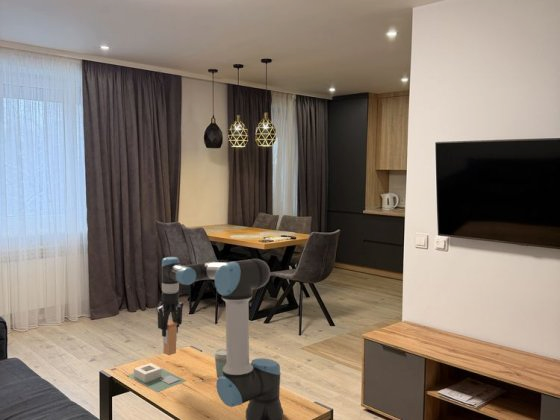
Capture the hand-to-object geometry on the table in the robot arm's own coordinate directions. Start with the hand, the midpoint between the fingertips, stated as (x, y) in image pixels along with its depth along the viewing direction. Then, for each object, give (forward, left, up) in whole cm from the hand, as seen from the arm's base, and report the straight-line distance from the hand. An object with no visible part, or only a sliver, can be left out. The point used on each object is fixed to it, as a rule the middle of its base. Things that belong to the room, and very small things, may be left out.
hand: (169, 341), depth 223 cm
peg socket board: (+6, +3, -20) cm, 21 cm away
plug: (0, 0, -5) cm, 5 cm away
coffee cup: (-12, -22, -20) cm, 32 cm away
